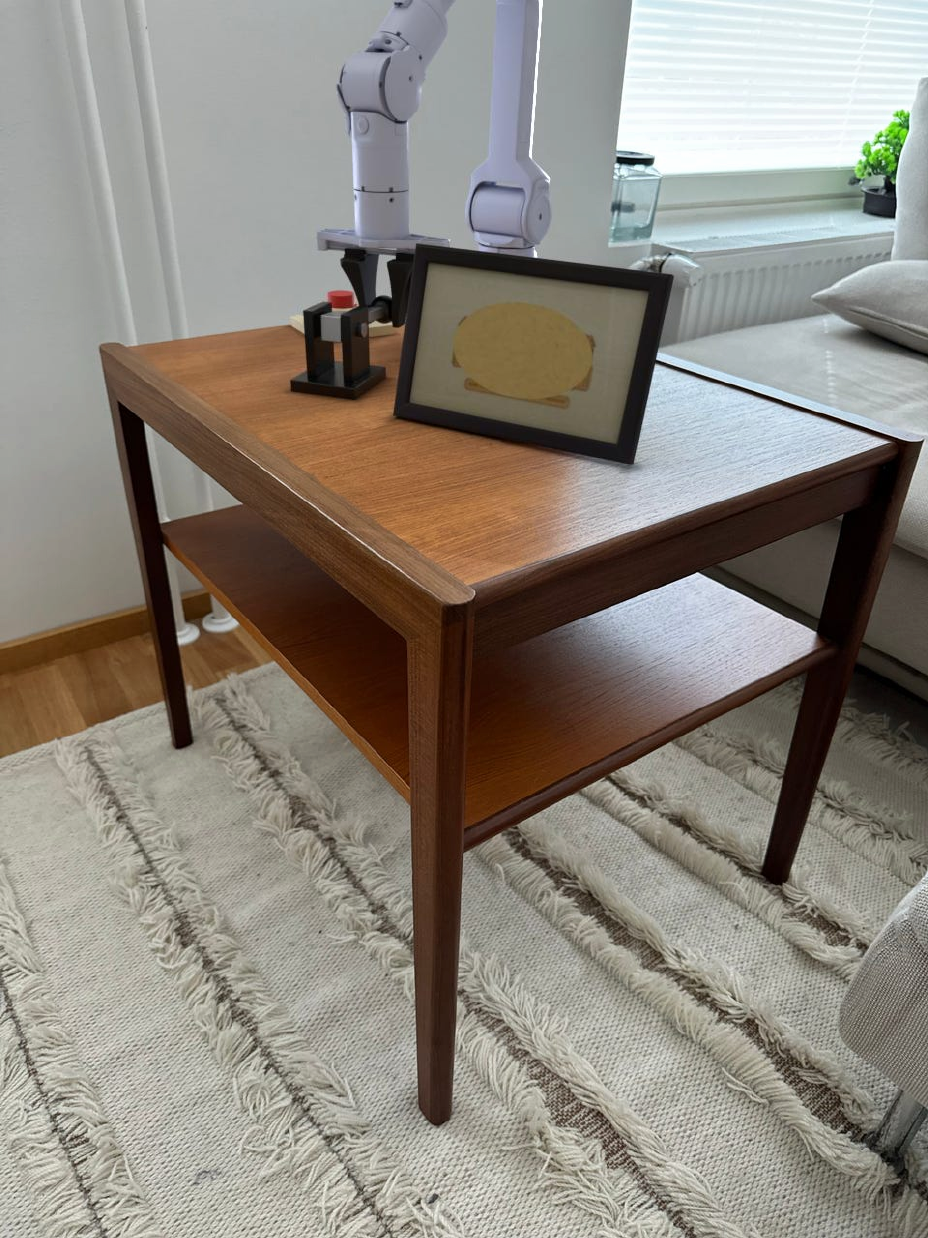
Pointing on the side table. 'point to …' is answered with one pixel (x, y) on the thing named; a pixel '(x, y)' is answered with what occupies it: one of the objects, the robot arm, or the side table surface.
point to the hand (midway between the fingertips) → (384, 323)
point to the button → (341, 299)
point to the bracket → (321, 367)
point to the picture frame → (531, 349)
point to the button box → (374, 327)
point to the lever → (332, 320)
